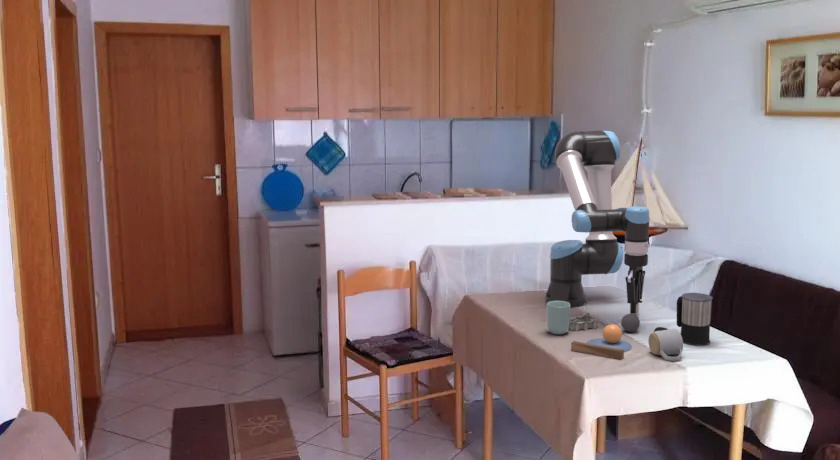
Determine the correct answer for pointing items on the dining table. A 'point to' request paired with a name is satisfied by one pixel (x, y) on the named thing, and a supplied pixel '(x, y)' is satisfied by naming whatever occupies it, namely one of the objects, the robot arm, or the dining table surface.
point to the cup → (558, 316)
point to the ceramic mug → (666, 343)
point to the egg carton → (582, 322)
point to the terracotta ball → (612, 333)
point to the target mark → (611, 344)
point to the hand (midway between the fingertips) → (634, 321)
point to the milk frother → (693, 318)
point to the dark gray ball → (630, 322)
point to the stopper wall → (597, 350)
